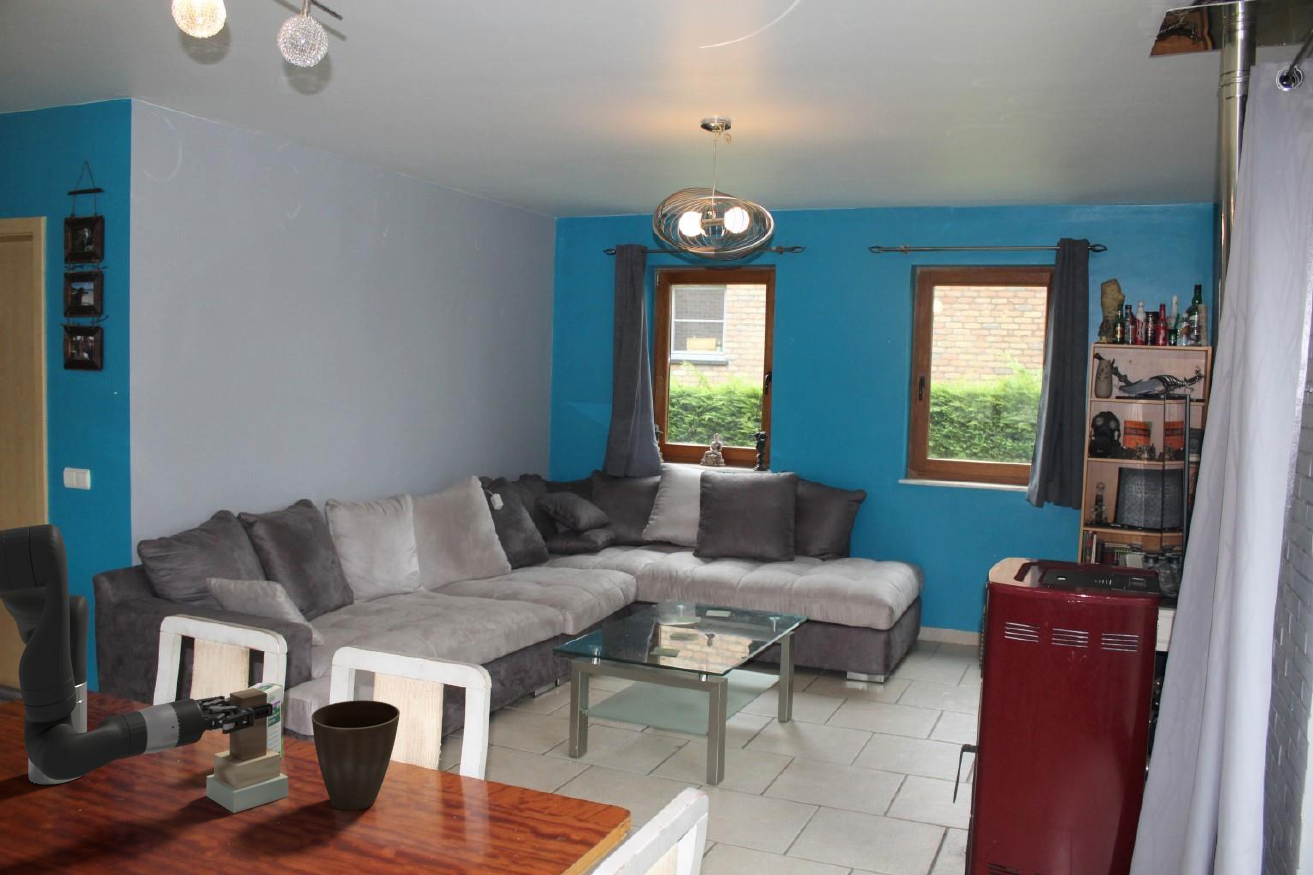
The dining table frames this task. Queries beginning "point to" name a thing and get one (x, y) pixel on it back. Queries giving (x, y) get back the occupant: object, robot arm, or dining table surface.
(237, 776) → the tower top
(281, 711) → the syrup box
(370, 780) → the plant pot
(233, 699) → the walnut block
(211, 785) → the tower base
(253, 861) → the dining table surface
